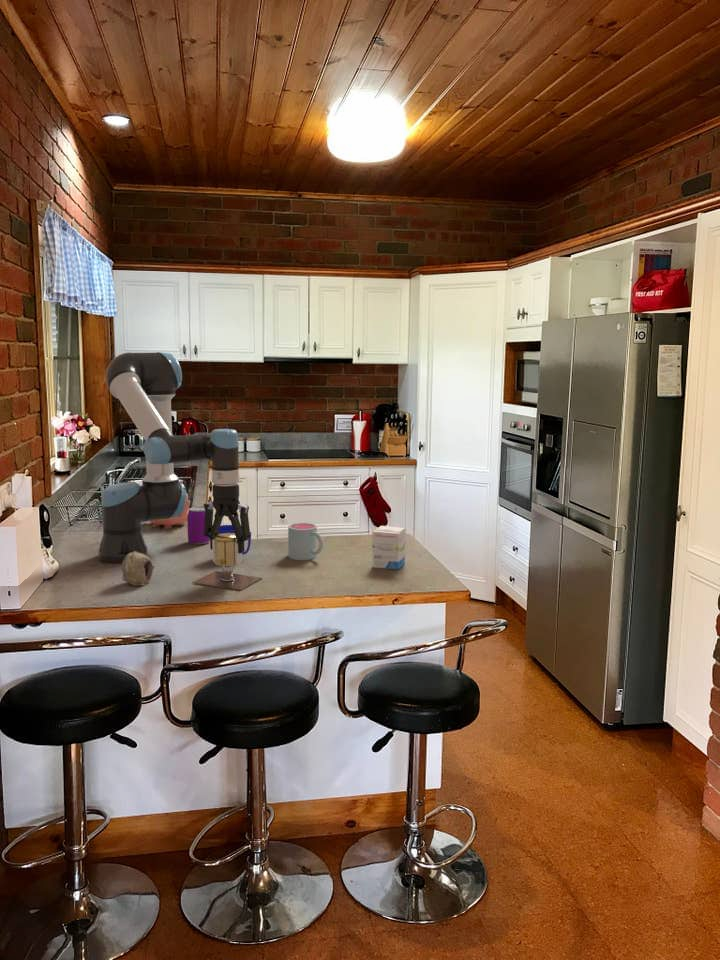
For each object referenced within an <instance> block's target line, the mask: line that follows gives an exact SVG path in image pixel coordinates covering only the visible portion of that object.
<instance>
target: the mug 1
mask: <svg viewBox="0 0 720 960" xmlns="http://www.w3.org/2000/svg"><path fill="white" fill-rule="evenodd" d="M223 533H234V530H233V527H232V524H221V525H220V529H219V532H218V534H223ZM234 534H235V533H234ZM250 536H251V538H250V539H248V540H247V547H246V549H245V551H244V552H243V553H242V556H243V555H246V554H248V552H249V551H250V548H251V543H252V542H251V541H252V532H251V531H250Z"/></svg>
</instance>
